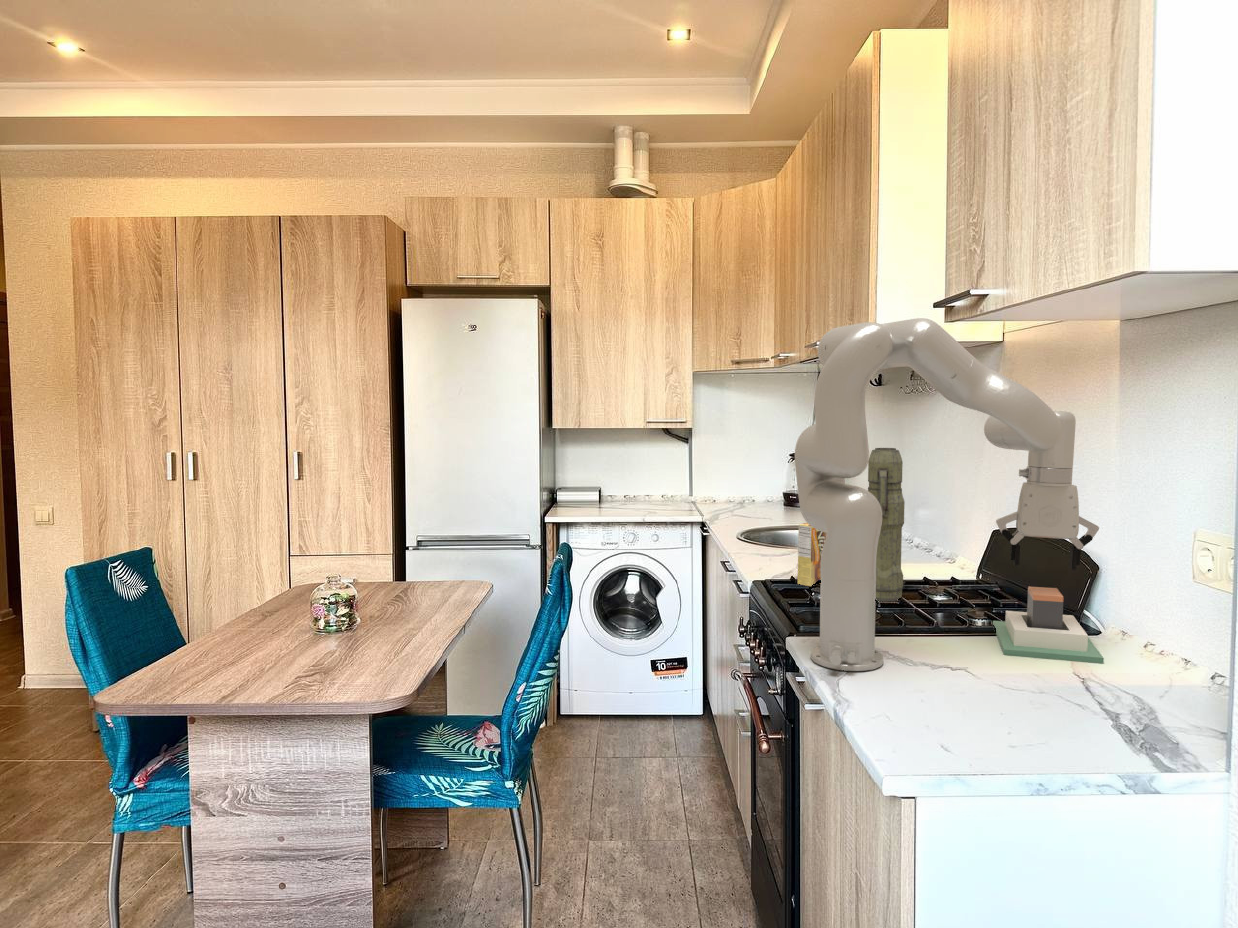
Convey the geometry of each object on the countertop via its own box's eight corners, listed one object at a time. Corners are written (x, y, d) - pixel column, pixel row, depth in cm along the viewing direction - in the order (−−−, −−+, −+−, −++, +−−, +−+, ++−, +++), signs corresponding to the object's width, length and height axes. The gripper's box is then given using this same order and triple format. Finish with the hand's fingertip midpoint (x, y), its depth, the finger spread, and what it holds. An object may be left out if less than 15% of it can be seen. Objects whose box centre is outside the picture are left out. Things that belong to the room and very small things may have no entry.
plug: (1061, 644, 152) (1063, 596, 152) (1031, 641, 154) (1033, 594, 153) (1055, 633, 159) (1056, 588, 158) (1026, 631, 161) (1028, 586, 160)
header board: (1103, 663, 145) (1104, 641, 144) (1003, 654, 150) (1004, 633, 150) (1080, 631, 163) (1081, 612, 163) (992, 625, 169) (993, 606, 168)
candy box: (814, 578, 212) (815, 519, 211) (829, 580, 210) (830, 521, 208) (796, 584, 206) (797, 524, 205) (811, 587, 203) (812, 525, 202)
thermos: (901, 592, 197) (904, 447, 194) (903, 604, 186) (907, 450, 183) (863, 589, 200) (865, 446, 197) (863, 601, 188) (865, 449, 185)
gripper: (1001, 476, 153) (996, 566, 155) (1106, 480, 148) (1100, 574, 149) (996, 473, 160) (992, 559, 162) (1097, 477, 155) (1091, 566, 156)
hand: (1043, 566), depth 155 cm, fingers open, 9 cm apart
